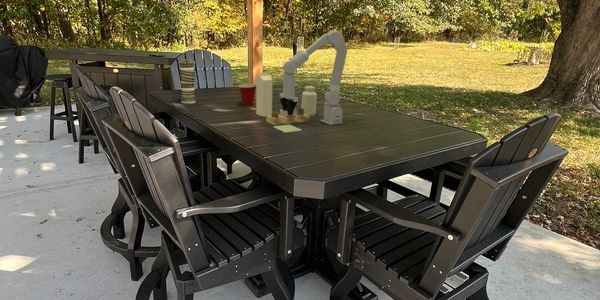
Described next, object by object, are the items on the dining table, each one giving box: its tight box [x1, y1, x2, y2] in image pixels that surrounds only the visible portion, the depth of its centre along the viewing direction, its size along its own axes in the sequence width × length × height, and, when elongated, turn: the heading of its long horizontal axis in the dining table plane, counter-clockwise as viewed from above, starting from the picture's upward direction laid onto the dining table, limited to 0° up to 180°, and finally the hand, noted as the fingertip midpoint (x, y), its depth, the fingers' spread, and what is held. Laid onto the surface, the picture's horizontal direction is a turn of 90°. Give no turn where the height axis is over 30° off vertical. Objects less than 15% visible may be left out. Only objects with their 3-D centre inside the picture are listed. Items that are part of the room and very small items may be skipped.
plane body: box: [265, 107, 310, 126], centre depth 192 cm, size 20×8×6 cm, turn 122°
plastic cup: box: [238, 83, 256, 107], centre depth 229 cm, size 11×11×12 cm
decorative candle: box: [178, 58, 197, 104], centre depth 228 cm, size 9×9×25 cm
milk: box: [255, 72, 273, 117], centre depth 202 cm, size 6×6×22 cm
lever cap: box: [279, 108, 297, 117], centre depth 191 cm, size 7×4×3 cm, turn 122°
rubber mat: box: [273, 124, 303, 134], centre depth 178 cm, size 11×9×1 cm
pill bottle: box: [300, 85, 318, 117], centre depth 208 cm, size 8×8×15 cm
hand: (288, 113), depth 192 cm, fingers closed on lever cap, 4 cm apart
